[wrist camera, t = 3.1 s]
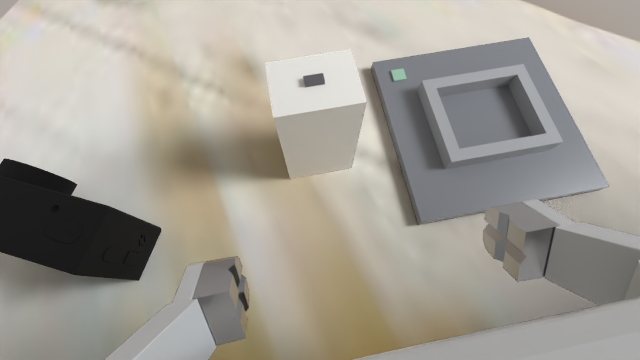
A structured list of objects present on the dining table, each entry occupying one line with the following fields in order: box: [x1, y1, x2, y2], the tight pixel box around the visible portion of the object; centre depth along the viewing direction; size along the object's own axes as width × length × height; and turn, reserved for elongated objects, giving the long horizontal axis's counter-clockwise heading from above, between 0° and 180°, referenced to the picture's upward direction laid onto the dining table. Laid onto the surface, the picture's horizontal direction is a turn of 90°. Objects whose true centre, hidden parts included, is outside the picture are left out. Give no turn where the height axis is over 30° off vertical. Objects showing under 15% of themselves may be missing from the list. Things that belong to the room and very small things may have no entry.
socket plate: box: [371, 38, 609, 225], centre depth 28 cm, size 16×16×2 cm
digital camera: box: [0, 159, 161, 280], centre depth 23 cm, size 10×5×7 cm, turn 75°
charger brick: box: [265, 49, 367, 179], centre depth 23 cm, size 6×4×10 cm
